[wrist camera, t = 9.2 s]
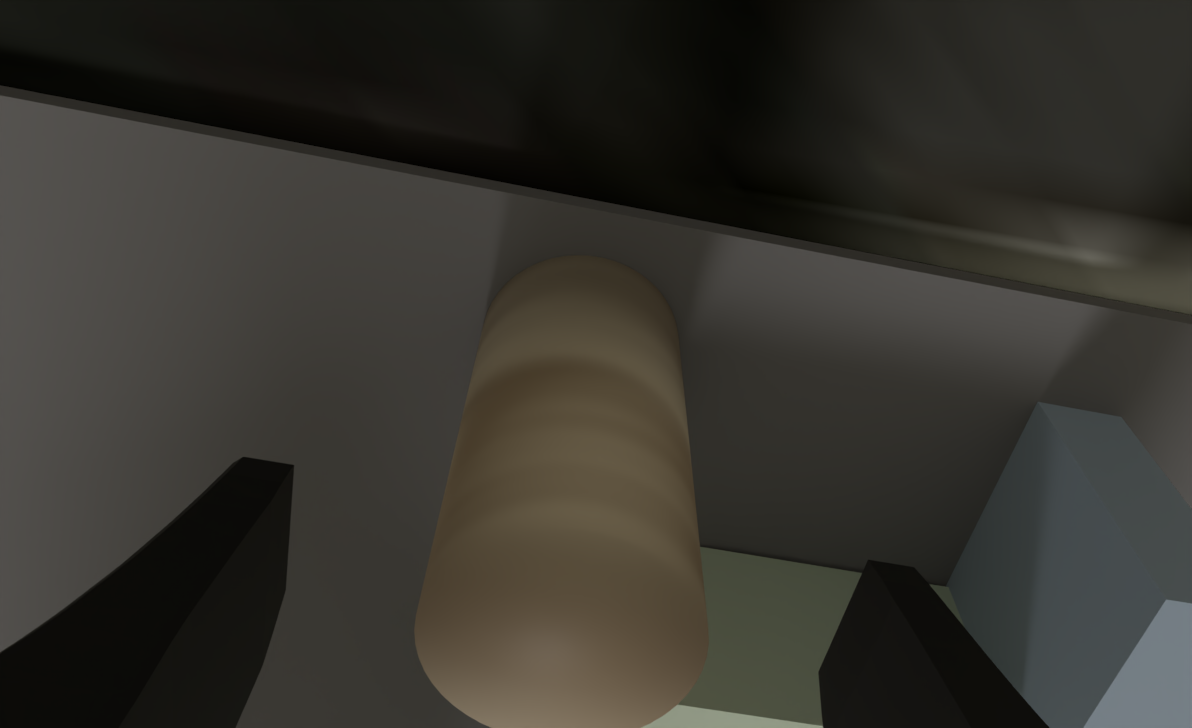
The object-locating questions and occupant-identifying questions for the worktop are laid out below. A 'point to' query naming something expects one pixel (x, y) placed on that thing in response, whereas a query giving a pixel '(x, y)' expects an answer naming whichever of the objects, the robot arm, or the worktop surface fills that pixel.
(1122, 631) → the backstop wall
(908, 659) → the robot arm
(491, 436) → the dowel
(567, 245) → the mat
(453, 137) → the worktop surface
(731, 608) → the socket block
